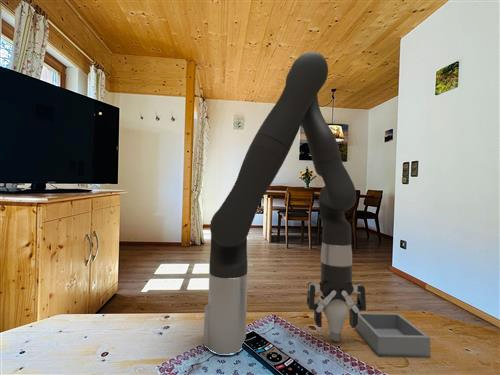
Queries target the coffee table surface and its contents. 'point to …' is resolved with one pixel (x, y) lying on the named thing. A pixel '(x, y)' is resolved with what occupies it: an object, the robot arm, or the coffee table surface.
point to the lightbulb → (336, 317)
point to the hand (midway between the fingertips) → (335, 326)
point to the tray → (392, 335)
